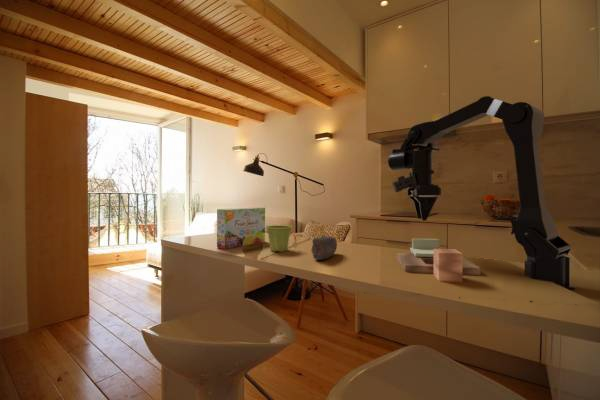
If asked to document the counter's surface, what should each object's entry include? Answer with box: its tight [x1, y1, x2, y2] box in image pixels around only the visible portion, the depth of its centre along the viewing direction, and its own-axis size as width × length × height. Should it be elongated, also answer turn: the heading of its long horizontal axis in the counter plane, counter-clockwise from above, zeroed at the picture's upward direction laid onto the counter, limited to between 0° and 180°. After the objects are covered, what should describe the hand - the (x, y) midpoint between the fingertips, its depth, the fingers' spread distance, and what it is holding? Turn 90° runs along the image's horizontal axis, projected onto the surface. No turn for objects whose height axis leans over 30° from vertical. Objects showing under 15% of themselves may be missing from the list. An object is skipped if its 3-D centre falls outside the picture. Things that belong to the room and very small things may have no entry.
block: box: [433, 248, 463, 283], centre depth 61 cm, size 4×4×7 cm
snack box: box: [216, 206, 266, 250], centre depth 115 cm, size 21×6×15 cm, turn 143°
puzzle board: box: [396, 252, 481, 276], centre depth 72 cm, size 16×14×3 cm
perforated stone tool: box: [310, 235, 338, 261], centre depth 90 cm, size 15×5×7 cm, turn 149°
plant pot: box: [265, 224, 293, 252], centre depth 102 cm, size 9×9×9 cm
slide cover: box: [409, 238, 441, 257], centre depth 78 cm, size 8×8×4 cm
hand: (421, 219), depth 85 cm, fingers open, 6 cm apart
